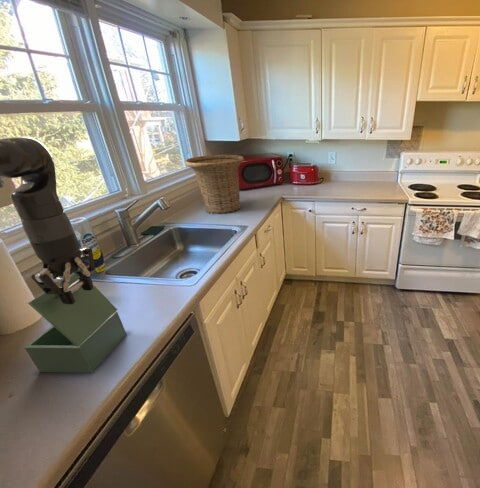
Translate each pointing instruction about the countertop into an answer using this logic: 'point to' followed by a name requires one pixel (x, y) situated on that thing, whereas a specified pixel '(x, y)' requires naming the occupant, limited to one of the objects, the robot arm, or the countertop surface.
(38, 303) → the bin lid
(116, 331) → the bin
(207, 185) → the wicker basket
